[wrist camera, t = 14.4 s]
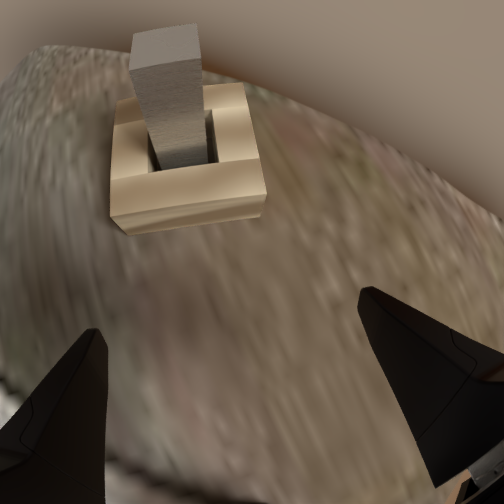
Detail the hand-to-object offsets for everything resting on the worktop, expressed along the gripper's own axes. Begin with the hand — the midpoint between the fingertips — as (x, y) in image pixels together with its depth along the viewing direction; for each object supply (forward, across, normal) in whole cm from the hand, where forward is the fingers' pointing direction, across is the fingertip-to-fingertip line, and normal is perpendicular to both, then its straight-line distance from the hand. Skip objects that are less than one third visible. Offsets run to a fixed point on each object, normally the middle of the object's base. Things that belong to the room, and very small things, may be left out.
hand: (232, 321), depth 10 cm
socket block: (+19, +2, 0) cm, 19 cm away
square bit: (+19, +2, -1) cm, 19 cm away
